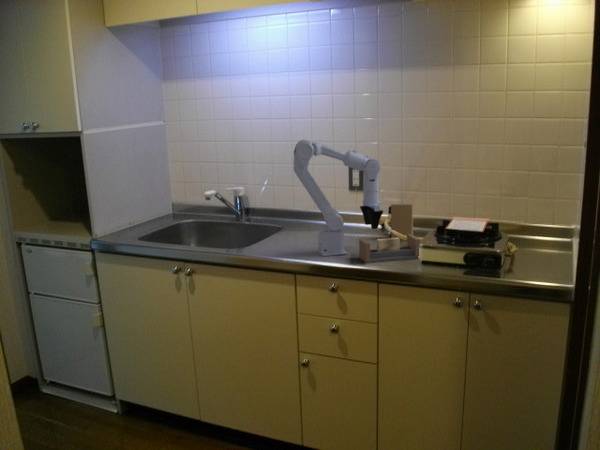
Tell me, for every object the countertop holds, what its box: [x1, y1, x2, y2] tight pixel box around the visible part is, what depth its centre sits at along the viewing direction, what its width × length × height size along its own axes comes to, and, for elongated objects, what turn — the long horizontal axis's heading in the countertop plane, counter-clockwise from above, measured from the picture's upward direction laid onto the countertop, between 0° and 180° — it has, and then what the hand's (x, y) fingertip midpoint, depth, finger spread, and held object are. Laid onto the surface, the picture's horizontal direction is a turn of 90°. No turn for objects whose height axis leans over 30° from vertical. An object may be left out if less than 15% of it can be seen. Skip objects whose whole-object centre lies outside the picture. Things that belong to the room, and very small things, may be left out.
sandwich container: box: [390, 203, 414, 241], centre depth 235 cm, size 9×15×15 cm, turn 167°
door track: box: [358, 234, 421, 264], centre depth 205 cm, size 20×8×7 cm, turn 101°
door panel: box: [376, 237, 401, 252], centre depth 205 cm, size 8×2×6 cm, turn 101°
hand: (371, 226), depth 214 cm, fingers open, 7 cm apart
